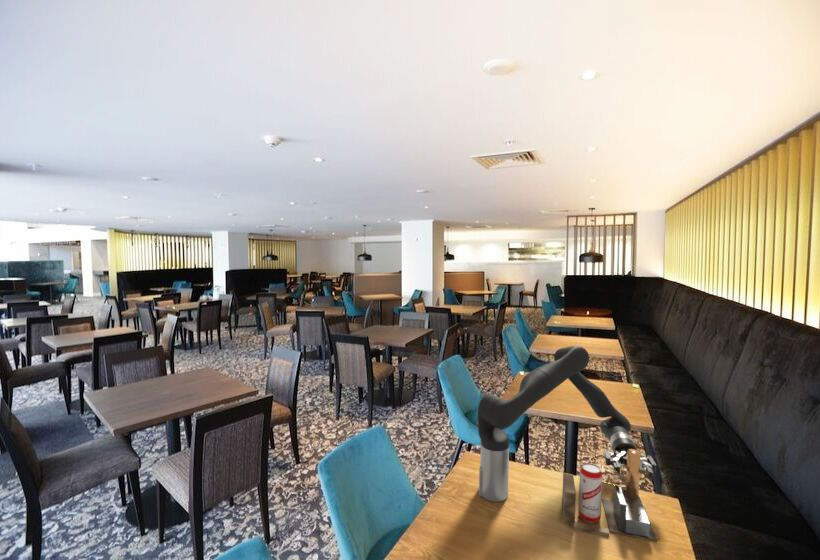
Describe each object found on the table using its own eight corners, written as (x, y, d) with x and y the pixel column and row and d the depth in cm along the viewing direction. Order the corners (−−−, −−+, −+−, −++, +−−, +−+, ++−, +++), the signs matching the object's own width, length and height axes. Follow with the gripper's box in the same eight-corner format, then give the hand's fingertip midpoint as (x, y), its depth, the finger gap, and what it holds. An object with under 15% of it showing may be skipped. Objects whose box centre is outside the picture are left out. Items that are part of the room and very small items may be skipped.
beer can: (602, 525, 119) (605, 474, 117) (580, 523, 120) (582, 472, 118) (597, 511, 125) (599, 463, 123) (576, 509, 126) (578, 461, 124)
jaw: (619, 531, 115) (622, 471, 113) (610, 499, 129) (613, 446, 128) (649, 537, 113) (652, 476, 111) (636, 503, 127) (639, 449, 125)
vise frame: (564, 527, 118) (565, 495, 117) (561, 493, 134) (562, 464, 133) (659, 546, 110) (661, 512, 109) (643, 507, 127) (645, 477, 126)
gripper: (601, 434, 140) (609, 457, 125) (647, 440, 136) (661, 465, 120) (600, 454, 141) (608, 480, 125) (646, 461, 136) (660, 489, 121)
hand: (634, 473), depth 123 cm, fingers open, 8 cm apart
